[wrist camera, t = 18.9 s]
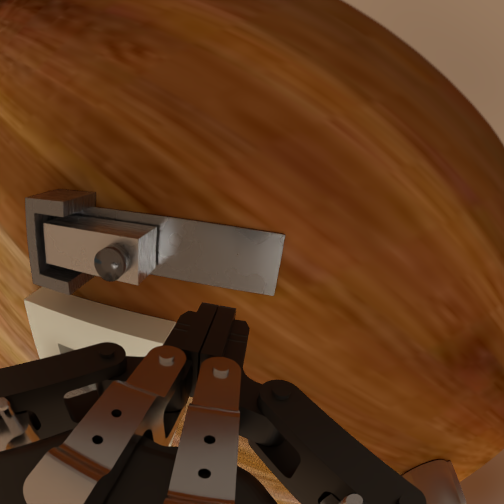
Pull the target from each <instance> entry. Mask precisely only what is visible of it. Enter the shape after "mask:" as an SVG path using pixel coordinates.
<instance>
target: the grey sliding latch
mask: <svg viewBox="0 0 504 504" xmlns="http://www.w3.org/2000/svg"><path fill="white" fill-rule="evenodd" d="M93 206H96V192H86V191H75V190H64V189H57V190H53V191H49V192H45V193H41V194H37V195H33V196H30V197H26V198H25V207H26V227H27V239H28V250H29V258H30V266H31V273H32V279H33V284H36V285H39V286H42V287H45V288H48V289H51V290H54V291H57V292H60V293H64V294H67V295H71V294H72V293H73V292H75V291H76V290H77V289H79V288H80V287H81V286H82V285H84V284H85V283H86V282H88V281H89V280H90V279H92V278H93V277H94V276H95V275H91V274H87V273H83V272H79V271H75V270H71V269H67V268H64V267H60V266H56V265H52V264H49V263H46V253H45V242H44V227H43V223H45V222H47V221H50V220H53V219H55V218H58V217H65V216H68V215H71V214H72V215H79V216H86V217H93V218H100V219H106V220H113V221H120V222H127V223H134V224H140V225H147V226H154V227H157V236H156V266H155V269H154V270H153V271H152V272H151V273H150V274H153V275H158V276H163V277H168V278H174V279H179V280H184V281H190V282H195V283H201V284H206V285H212V286H217V287H223V288H229V289H235V290H241V291H247V292H253V293H259V294H266V295H272V296H274V292H275V287H276V282H277V277H278V271H279V266H280V261H281V255H282V250H283V245H284V239H285V234H280V233H274V232H267V231H261V230H255V229H249V228H242V227H236V226H229V225H223V224H216V223H209V222H203V221H196V220H189V219H182V218H175V217H168V216H161V215H154V214H146V213H139V212H131V211H124V210H116V209H108V208H101V207H93Z"/></svg>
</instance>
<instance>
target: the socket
mask: <svg viewBox="0 0 504 504" xmlns="http://www.w3.org/2000/svg"><path fill="white" fill-rule="evenodd" d="M24 303H25V307H26V311H27V316H28V320H29V323H30V327H31V331H32V335H33V338H34V342H35V345H36V348H37V351H38V355H39V358H40V359H43V358H47V357H51V356H54V355H58V354H62V353H66V352H70V351H73V350H77V349H81V348H84V347H88V346H92V345H95V344H99V343H103V342H112V343H116V344H118V345H120V346H122V347H123V348H124V350H125V352H126V356H136V357H144V356H146V355H147V354H148V352H149V351H150V350H151V349H153V348H155V347H158V346H163V344H164V342H165V341H166V339H167V337H168V336H169V334H170V332H171V331H172V329H173V327H174V326H175V324H176V322H174V321H170V320H165V319H161V318H156V317H152V316H148V315H144V314H139V313H135V312H131V311H127V310H123V309H120V308H116V307H112V306H108V305H105V304H101V303H97V302H94V301H90V300H87V299H83V298H80V297H77V296H73V295H67V294H64V293H60V292H57V291H54V290H51V289H48V288H45V287H41V288H39V289H38V290H36V291H35V292H34V293H32V294H31V295H29V296H28V297H26V298H25V299H24ZM176 430H177V429H176ZM175 433H176V431H175ZM175 433H174V435H175ZM174 435H173V437H172V439H171V441H170V444H169V446H170V447H171V444H172V441H173V438H174Z"/></svg>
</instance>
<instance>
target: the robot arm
mask: <svg viewBox="0 0 504 504" xmlns="http://www.w3.org/2000/svg"><path fill="white" fill-rule="evenodd" d="M235 315H236V308H231V307H225V306H219V305H214V304H209V303H203V302H202V304H201V305H200V307H199V309H198V311H197V312H192V311H187V312H186V313H184V314H182V315H181V316H180V318H179V319H178V321H177V323H176V324H175V326H174V327H173V329H172V331H171V332H170V334H169V336H168V337H167V339H166V341H165V342H164V344H163V346H158V347H155V348H153V349H151V350H150V351H149V352H148V354H147V355H146V356H144V357H136V356H126V352H125V350H124V348H123V347H122V346H120V345H118V344H116V343H112V342H103V343H99V344H95V345H92V346H88V347H84V348H81V349H77V350H73V351H70V352H66V353H62V354H58V355H54V356H51V357H47V358H43V359H39V360H35V361H31V362H27V363H23V364H18V365H14V366H10V367H6V368H1V369H0V504H277V502H276V501H275V500H274V499H273V498H272V496H271V495H270V494H269V493H268V491H267V490H266V489H265V487H264V486H263V485H262V484H261V483H260V482H259V481H258V480H257V479H256V478H255V477H254V476H253V475H251V474H250V473H249V472H247V471H246V470H244V469H242V468H240V467H238V466H237V455H238V439H239V435H240V436H242V437H244V438H247V439H248V443H249V445H250V446H251V448H252V449H253V450H254V451H255V453H256V454H257V455H258V456H259V457H260V459H261V460H262V461H263V462H264V463H265V465H266V466H267V467H268V468H269V469H270V470H271V472H272V473H273V474H274V475H275V476H276V477H277V478H278V479H279V481H280V482H281V483H282V484H283V485H284V486H285V487H286V488H287V489H288V490H289V492H290V493H291V494H292V495H293V496H294V497H295V498H296V499H297V500H298V501H299V502H300V503H301V504H466V500H465V497H464V495H463V491H462V489H461V486H460V483H459V480H458V478H457V475H456V473H455V470H454V467H453V465H452V462H451V461H448V462H447V461H445V460H435V461H432V462H428V463H426V464H423V465H421V466H418V467H416V468H414V469H412V470H410V471H409V472H407V473H405V474H404V475H402V476H401V475H399V474H398V473H397V472H396V471H394V470H393V469H392V468H390V467H389V466H388V465H387V464H385V463H384V462H383V461H382V460H380V459H379V458H378V457H377V456H375V455H374V454H373V453H372V452H370V451H369V450H368V449H367V448H366V447H364V446H363V445H362V444H361V443H360V442H358V441H357V440H356V439H355V438H354V437H352V436H351V435H350V434H349V433H348V432H347V431H345V430H344V429H343V428H342V427H341V426H340V425H338V424H337V423H336V422H335V421H334V420H333V419H332V418H330V417H329V416H328V415H327V414H326V413H325V412H324V411H323V410H321V409H320V408H319V407H318V406H317V405H316V404H315V403H314V402H313V401H312V400H310V399H309V398H308V397H307V396H306V395H305V394H304V393H303V392H302V391H301V390H300V389H299V388H297V387H296V386H295V385H294V384H292V383H290V382H287V381H284V380H271V381H268V382H266V383H264V384H263V385H262V384H259V383H257V382H255V381H253V380H251V379H250V378H249V377H247V375H246V374H245V373H244V371H243V363H244V358H245V352H246V346H247V340H248V334H249V327H248V325H247V323H246V321H240V320H235ZM92 384H96V388H97V389H96V390H93V391H90V392H87V393H84V394H81V395H78V396H74V397H71V398H64V396H65V394H66V393H68V392H69V391H73V390H76V389H79V388H82V387H85V386H89V385H92ZM189 396H190V397H193V401H192V404H191V403H190V404H189V406H188V409H187V413H186V417H185V422H184V426H183V430H182V434H181V438H180V442H179V447H170V446H169V444H170V441H171V439H172V437H173V435H174V433H175V431H176V429H177V427H178V425H179V423H180V421H181V419H182V417H183V415H184V413H185V410H186V403H187V401H188V398H189Z"/></svg>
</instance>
